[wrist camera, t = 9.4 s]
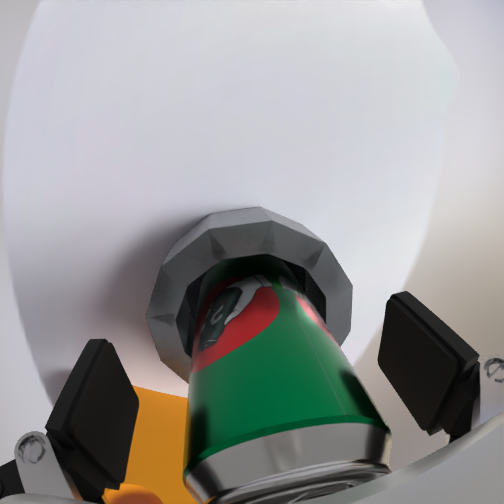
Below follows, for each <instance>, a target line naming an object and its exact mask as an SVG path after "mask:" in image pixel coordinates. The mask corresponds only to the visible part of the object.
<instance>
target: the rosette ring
mask: <svg viewBox="0 0 504 504" xmlns="http://www.w3.org/2000/svg"><path fill="white" fill-rule="evenodd" d="M264 253H268V254H270V255H273V256H276V257H278V258H281V259H283V260H286V261H288V262H291V263H294V264H296V265H299V266H301V267H304V269H305V285H306V295H307V296H308V298H309V299H310V301H311V302H312V304H313V305H314V307H315V309H316V310H317V312H318V313H319V315H320V316H321V318H322V320H323V321H324V323H325V324H326V326H327V327H328V329H329V331H330V332H331V334H332V335H333V337H334V339H335V340H336V342H337V343H338V345H339V347H341V345H342V344H343V342H344V340H345V339H346V337H347V336H348V334H349V332H350V330H351V313H352V289H353V286H352V284H351V282H350V280H349V279H348V277H347V276H346V274H345V272H344V271H343V269H342V267H341V266H340V264H339V263H338V261H337V260H336V258H335V256H334V255H333V253H332V252H331V250H330V249H329V247H328V246H327V244H326V243H325V242H324V241H322V240H321V239H320V238H319V237H317V236H316V235H315V234H314V233H312V232H311V231H310V230H308V229H307V228H306V227H305V226H303V225H302V224H299V223H297V222H295V221H292V220H290V219H288V218H286V217H283V216H281V215H279V214H276V213H274V212H272V211H269V210H267V209H264V208H262V207H254V208H246V209H239V210H231V211H224V212H217V213H211V214H210V215H209V216H207V217H206V218H205V219H203V220H202V221H201V222H200V223H198V224H197V225H196V226H195V227H193V228H192V229H191V230H190V231H188V232H187V233H186V234H185V235H183V236H182V237H181V238H180V239H179V240H177V241H176V242H175V243H174V244H173V246H172V248H171V250H170V251H169V253H168V255H167V257H166V259H165V260H164V262H163V264H162V266H161V268H160V271H159V274H158V277H157V281H156V284H155V287H154V290H153V294H152V297H151V300H150V304H149V307H148V310H147V314H146V319H147V322H148V325H149V328H150V331H151V334H152V337H153V340H154V343H155V346H156V349H157V351H158V354H159V357H160V360H161V361H162V362H163V363H164V364H165V365H167V366H168V367H169V368H170V369H171V370H172V371H174V372H175V373H176V374H177V375H178V376H180V377H181V378H182V379H183V380H184V381H186V382H187V383H188V384H189V379H190V369H191V359H192V350H193V342H194V333H195V325H196V320H195V319H194V318H193V317H192V316H191V314H190V310H189V306H188V301H187V297H186V293H185V292H186V289H187V286H188V285H189V284H190V283H192V282H193V281H194V280H195V279H197V278H198V277H199V276H201V275H202V274H203V273H205V272H206V271H207V270H209V269H210V268H211V267H213V266H214V265H215V264H217V263H218V262H219V261H221V260H222V259H229V258H236V257H243V256H250V255H257V254H264Z"/></svg>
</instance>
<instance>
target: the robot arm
mask: <svg viewBox="0 0 504 504" xmlns="http://www.w3.org/2000/svg"><path fill="white" fill-rule="evenodd" d="M478 358H479V354H478V353H477V352H476V351H475V350H474V349H473V348H472V347H471V346H469V345H468V344H467V343H466V342H465V341H464V340H463V339H462V338H461V337H460V336H459V335H458V334H456V333H455V332H454V331H453V330H452V329H451V328H450V327H449V326H447V325H446V324H445V323H444V322H443V321H442V320H441V319H440V318H438V317H437V316H436V315H435V314H434V313H433V312H432V311H430V310H429V309H428V308H427V307H426V306H425V305H423V304H422V303H421V302H420V301H419V300H417V299H416V298H415V297H414V296H413V295H411V294H410V293H409V292H407V291H404V292H400V293H396V294H393V295H391V297H390V299H389V300H388V301H387V303H386V310H385V317H384V324H383V331H382V337H381V343H380V349H379V354H378V365H379V367H380V369H381V370H382V371H383V373H384V374H385V376H386V377H387V379H388V380H389V382H390V383H391V385H392V386H393V388H394V389H395V390H396V392H397V393H398V395H399V396H400V398H401V399H402V401H403V402H404V404H405V405H406V407H407V408H408V410H409V411H410V413H411V414H412V416H413V417H414V419H415V420H416V422H417V423H418V425H419V427H420V428H421V429H422V430H424V431H425V430H426V431H427V433H428V434H429V435H430V436H431V435H433V434H435V433H437V432H439V431H440V430H442V429H444V431H445V432H446V435H445V441H444V446H443V448H441V449H439V450H437V451H436V452H434V453H432V454H430V455H428V456H426V457H424V458H422V459H420V460H418V461H416V462H414V463H412V464H410V465H408V466H406V467H404V468H401V469H399V470H397V471H395V472H392V473H390V474H387V475H385V476H382V477H380V478H377V479H375V480H372V481H369V482H367V483H364V484H361V485H358V486H355V487H352V488H349V489H346V490H343V491H340V492H336V493H333V494H329V495H326V496H322V497H318V498H314V499H310V500H306V501H301V502H296V503H291V504H504V357H503V356H499V355H490V356H487V357H485V358H484V359H483V360H482V362H481V363H479V362H478V361H477V360H478ZM138 410H139V398H138V396H137V394H136V392H135V390H134V388H133V386H132V384H131V382H130V380H129V378H128V376H127V374H126V372H125V370H124V368H123V366H122V364H121V362H120V359H119V357H118V355H117V353H116V351H115V348H114V346H113V344H112V343H108V341H107V340H106V339H91V340H89V341H88V343H87V344H86V346H85V348H84V350H83V351H82V353H81V355H80V357H79V359H78V361H77V362H76V364H75V366H74V368H73V370H72V372H71V374H70V376H69V378H68V380H67V382H66V384H65V386H64V388H63V390H62V392H61V394H60V396H59V398H58V400H57V402H56V404H55V406H54V408H53V410H52V413H51V415H50V417H49V419H48V421H47V424H46V426H45V428H46V430H47V433H46V435H44V434H43V433H41V432H38V431H33V432H29V433H26V434H25V435H24V436H22V437H21V438H20V439H19V440H18V442H17V444H16V446H15V450H14V453H15V459H14V460H12V461H10V462H8V463H6V464H4V465H2V466H0V504H110V502H109V501H108V499H107V498H106V496H105V495H104V492H105V488H107V489H113V490H120V484H121V483H123V482H124V481H125V477H126V471H127V465H128V459H129V454H130V448H131V443H132V438H133V433H134V428H135V423H136V419H137V414H138Z"/></svg>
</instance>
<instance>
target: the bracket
mask: <svg viewBox="0 0 504 504" xmlns="http://www.w3.org/2000/svg"><path fill="white" fill-rule="evenodd" d="M132 386H133V385H132ZM133 388H134V390H135V392H136V394H137V396H138V398H139V410H138V414H137V419H136V423H135V428H134V433H133V438H132V443H131V448H130V454H129V459H128V465H127V471H126V477H125V481H124V482H123V483H121V484H120V490H113V489H107V488H105V492H104V495H105V496H106V498H107V499H108V501H109V502H110V504H198V503H197V502H196V501H195V500H194V498H193V497H192V496H191V494H190V493H189V492H188V490H187V489H186V488H185V486H184V483H183V480H182V472H183V454H184V438H185V424H186V412H187V400H188V398H184V397H179V396H174V395H170V394H165V393H161V392H156V391H152V390H148V389H144V388H140V387H136V386H133Z"/></svg>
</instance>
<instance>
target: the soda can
mask: <svg viewBox="0 0 504 504" xmlns="http://www.w3.org/2000/svg"><path fill="white" fill-rule="evenodd" d="M391 445H392V433H391V431H390V429H389V427H388V425H387V424H386V422H385V420H384V418H383V417H382V415H381V414H380V412H379V410H378V409H377V407H376V405H375V403H374V402H373V400H372V399H371V397H370V395H369V394H368V392H367V390H366V389H365V387H364V386H363V384H362V382H361V381H360V379H359V377H358V376H357V374H356V372H355V371H354V369H353V367H352V366H351V364H350V363H349V361H348V359H347V358H346V356H345V355H344V353H343V351H342V350H341V348H340V347H339V345H338V343H337V342H336V340H335V339H334V337H333V335H332V334H331V332H330V331H329V329H328V327H327V326H326V324H325V323H324V321H323V320H322V318H321V316H320V315H319V313H318V312H317V310H316V309H315V307H314V305H313V304H312V302H311V301H310V299H309V298H308V296H307V295H306V293H305V292H304V290H303V288H302V287H301V285H300V284H299V282H298V281H297V279H296V278H295V276H294V275H293V273H292V271H291V270H290V268H289V267H288V266H287V265H286V264H285V263H284V262H283V261H282V260H281V259H280V258H278V257H276V256H273V255H270V254H268V253H264V254H257V255H250V256H243V257H236V258H229V259H222V260H221V261H219V262H218V263H217V264H215V265H214V266H213V267H211V268H210V269H209V270H208V271H207V272H206V274H205V276H204V278H203V281H202V283H201V288H200V294H199V302H198V309H197V317H196V325H195V333H194V342H193V350H192V359H191V369H190V379H189V389H188V400H187V412H186V424H185V438H184V454H183V472H182V480H183V483H184V486H185V488H186V489H187V490H188V492H189V493H190V494H191V496H192V497H193V498H194V500H195V501H196V502H197V503H198V504H291V503H296V502H301V501H306V500H310V499H314V498H318V497H322V496H326V495H329V494H333V493H336V492H340V491H343V490H346V489H349V488H352V487H355V486H358V485H361V484H364V483H367V482H369V481H372V480H375V479H377V478H380V477H382V476H385V475H387V474H390V473H392V472H394V471H393V469H392V468H391V467H390V466H389V465H388V462H389V456H390V451H391Z"/></svg>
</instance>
